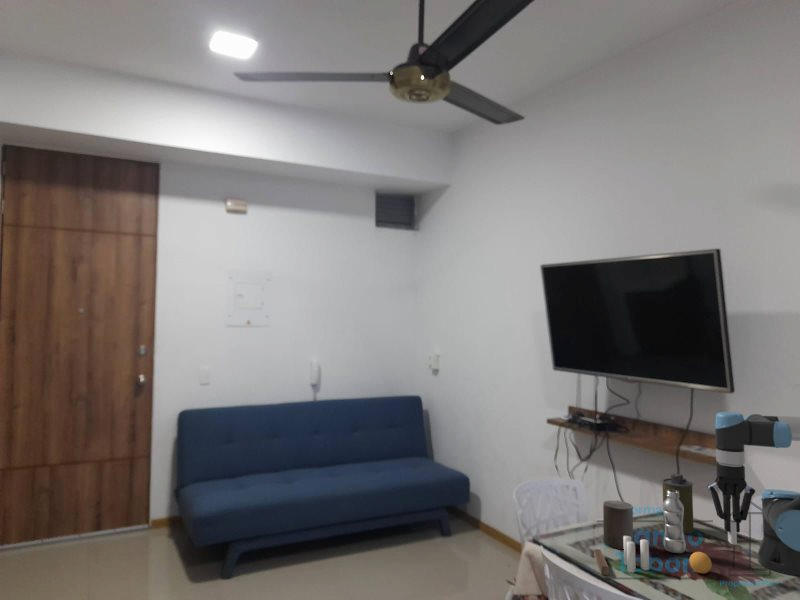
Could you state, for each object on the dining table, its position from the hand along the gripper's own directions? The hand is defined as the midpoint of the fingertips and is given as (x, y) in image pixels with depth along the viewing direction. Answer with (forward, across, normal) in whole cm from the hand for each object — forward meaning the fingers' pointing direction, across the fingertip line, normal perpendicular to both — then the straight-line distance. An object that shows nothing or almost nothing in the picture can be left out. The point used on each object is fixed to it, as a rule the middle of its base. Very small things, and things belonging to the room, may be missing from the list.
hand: (732, 542), depth 171 cm
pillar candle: (+10, +29, -20) cm, 37 cm away
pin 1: (+10, +30, -2) cm, 31 cm away
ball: (+7, +9, 0) cm, 11 cm away
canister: (+10, +4, -40) cm, 41 cm away
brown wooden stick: (+10, +38, 0) cm, 39 cm away
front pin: (+10, +25, 0) cm, 27 cm away
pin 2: (+10, +30, +3) cm, 31 cm away
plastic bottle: (+10, +12, -16) cm, 22 cm away
